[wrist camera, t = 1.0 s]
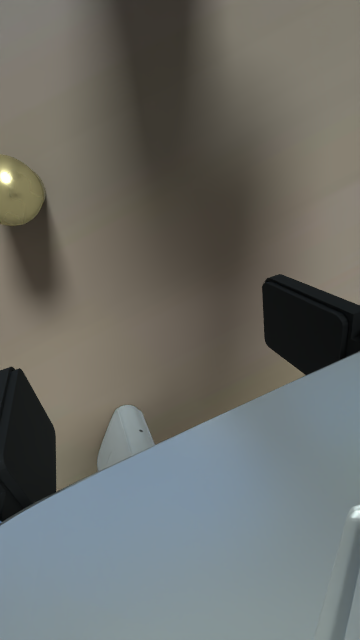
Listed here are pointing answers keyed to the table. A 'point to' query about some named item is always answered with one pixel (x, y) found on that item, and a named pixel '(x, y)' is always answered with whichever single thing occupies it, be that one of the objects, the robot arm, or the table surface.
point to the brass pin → (19, 192)
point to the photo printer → (124, 437)
